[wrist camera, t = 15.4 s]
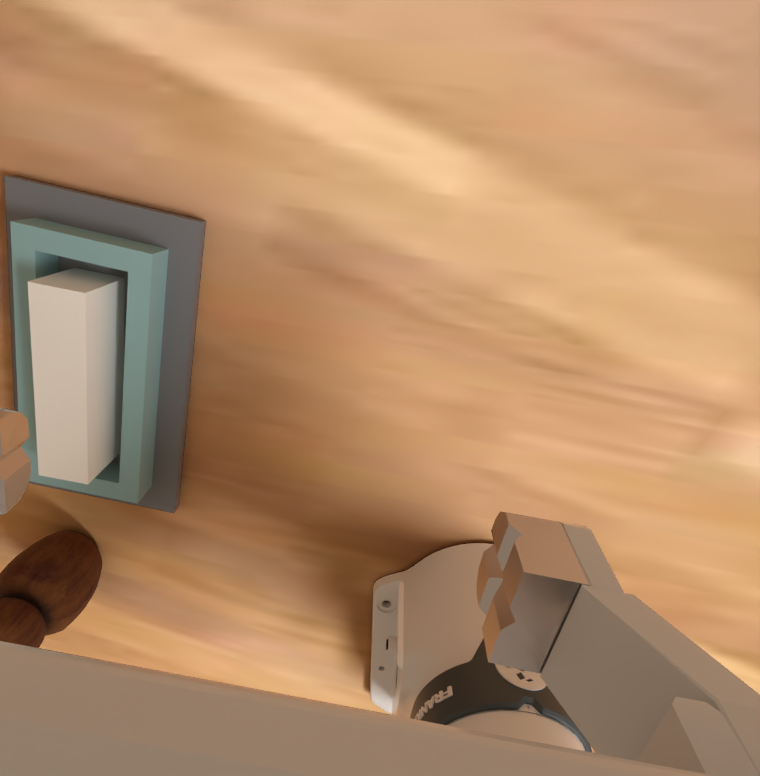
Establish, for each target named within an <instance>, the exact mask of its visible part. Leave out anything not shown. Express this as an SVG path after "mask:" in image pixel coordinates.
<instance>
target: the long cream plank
mask: <svg viewBox="0 0 760 776" xmlns="http://www.w3.org/2000/svg"><path fill="white" fill-rule="evenodd" d="M28 298H29V315H30V333H31V350H32V367H33V385H34V402H35V420H36V437H37V454H38V472H39V475H40V476H46V477H51V478H56V479H61V480H67V481H72V482H77V483H83V484H89V483H90V482H91V481H92V480H93V479H94V478H95V477H96V476H97V475H98V474H99V473H100V472H101V471H102V470H103V469H104V468H105V467H106V466H107V465H108V464H109V463H110V462H111V461H112V460H113V459H114V458H115V457H116V456H117V455H118V454H119V453H120V452H121V429H122V405H123V375H124V301H125V278H123V277H118V276H113V275H108V274H103V273H98V272H93V271H88V270H84V269H79V268H72V269H68V270H65V271H62V272H58V273H55V274H51V275H48V276H45V277H41V278H38V279H34V280H31V281H28Z"/></svg>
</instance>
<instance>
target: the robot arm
mask: <svg viewBox="0 0 760 776" xmlns="http://www.w3.org/2000/svg"><path fill="white" fill-rule="evenodd" d="M28 438H29V428H28V419H27V418H26V417H25V416H24V415H23V414H22V413H21V412H17V411H13V410H8V409H4V408H0V515H3V514H6V513H7V512H8V511H9V510H11V509H12V508H13V507H14V506H15V505H16V504H17V503H18V502H19V501H20V499H21V497H22V496H23V494H24V492H25V491H26V489H27V487H28V484H29V479H30V475H31V460H30V459H29V457H28V456H27V455H26V453H25V452H24V450H23V449H22V448H21V446H22V445H23V443H24V442H25V441H26V440H27V439H28ZM491 532H492V537H493V541H494V544H487V543H469V544H461V545H456V546H452V547H448V548H445V549H442V550H440V551H437V552H435V553H433V554H431V555H429V556H427V557H426V558H424V559H423V560H421V561H420V562H418V563H417V564H415V565H414V566H413V567H411V568H409V569H408V570H406V571H403V572H399V573H395V574H391V575H388V576H385V577H382V578H380V579H378V580H377V581H376V582H375V584H374V586H373V609H372V640H371V671H370V696H371V700H372V702H373V703H375V704H376V705H377V706H379V707H380V708H381V709H383V710H385V711H387V712H388V713H390V714H392V715H390V714H385V713H379V712H374V711H369V710H364V709H358V708H353V707H348V706H343V705H337V704H332V703H327V702H322V701H316V700H311V699H306V698H301V697H295V696H290V695H285V694H280V693H274V692H269V691H264V690H259V689H253V688H248V687H243V686H238V685H233V684H227V683H222V682H217V681H211V680H206V679H201V678H195V677H190V676H185V675H179V674H174V673H169V672H163V671H158V670H153V669H147V668H142V667H137V666H131V665H126V664H121V663H115V662H110V661H105V660H99V659H94V658H89V657H83V656H78V655H73V654H67V653H62V652H57V651H51V650H46V649H41V648H35V647H30V646H25V645H19V644H14V643H9V642H3V641H0V776H760V695H759V694H758V693H757V692H756V691H754V690H753V689H752V688H751V687H749V686H748V685H747V684H745V683H744V682H743V681H742V680H740V679H739V678H738V677H737V676H735V675H734V674H733V673H732V672H730V671H729V670H728V669H727V668H725V667H724V666H723V665H721V664H720V663H719V662H718V661H716V660H715V659H714V658H713V657H711V656H710V655H709V654H708V653H706V652H705V651H704V650H703V649H701V648H700V647H699V646H698V645H696V644H695V643H694V642H692V641H691V640H690V639H689V638H687V637H686V636H685V635H684V634H682V633H681V632H680V631H679V630H677V629H676V628H675V627H674V626H672V625H671V624H670V623H668V622H667V621H666V620H665V619H663V618H662V617H661V616H660V615H658V614H657V613H656V612H655V611H653V610H652V609H651V608H650V607H648V606H647V605H646V604H644V603H643V602H642V601H641V600H639V599H638V598H637V597H636V596H634V595H632V594H627V593H624V591H623V590H622V588H621V586H620V584H619V582H618V580H617V578H616V576H615V574H614V573H613V571H612V569H611V567H610V565H609V563H608V561H607V559H606V558H605V556H604V554H603V552H602V550H601V548H600V546H599V544H598V542H597V541H596V539H595V537H594V535H593V533H592V531H591V530H590V529H589V528H587V527H586V526H582V525H576V524H570V523H564V522H558V521H551V520H546V519H540V518H534V517H529V516H523V515H518V514H512V513H506V512H500V513H499V514H498V516H497V517H496V519H495V522H494V524H493V527H492V530H491ZM386 600H387V601H389V602H385V601H386ZM590 745H591V746H592V748H593V749H594V751H595V752H596V753H592V750H591V746H590Z"/></svg>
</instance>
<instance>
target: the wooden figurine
mask: <svg viewBox="0 0 760 776" xmlns="http://www.w3.org/2000/svg"><path fill="white" fill-rule="evenodd" d="M101 569H102V559H101V555H100V553H99V551H98V549H97V547H96V545H95V544H94V543H93V542H92V541H91V540H90V539H88V538H87V537H85V536H83V535H82V534H79V533H76V532H73V531H60V532H58V533H55V534H52V535H50V536H47V537H45V538H43V539H41V540H40V541H38V542H36V543H34V544H33V545H32V546H30V547H29V548H27V549H26V550H24V551H23V552H22V553H20V554H19V555H18V556H17V557H15V558H14V559H13V560H12V561H11V562H10V563H9V564H8V565H7V566H6V567H5V569H4V570H3V571H2V572H1V573H0V641H3V642H9V643H14V644H19V645H25V646H30V647H35V648H39V647H40V645H41V643H42V642H43V640H44V636H46V635H50V634H54V633H56V632H59V631H62V630H64V629H65V628H66V627H67V626H68V625H69V624H70V623H72V622H73V620H74V619H75V618H76V617H77V616H78V615H79V614H80V613H81V612H82V610H83V609H84V608H85V607H86V605H87V604H88V602H89V601H90V599H91V598H92V596H93V594H94V592H95V590H96V587H97V585H98V582H99V578H100V574H101Z"/></svg>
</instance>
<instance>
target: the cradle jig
mask: <svg viewBox="0 0 760 776" xmlns="http://www.w3.org/2000/svg"><path fill="white" fill-rule="evenodd" d="M4 182H5V204H6V227H7V249H8V272H9V295H10V317H11V340H12V362H13V385H14V407H15V411H17V412H21V413H22V414H23V415H24V416H25V417H26V418H27V419H28V428H29V438H28V439H27V440H26V441H25V442H24V443H23V445H22V446H21V448H22V449H23V450H24V452H25V453H26V455H27V456H28V457H29V459H30V460H31V475H30V479H29V483H32V484H37V485H41V486H46V487H51V488H56V489H61V490H65V491H70V492H75V493H80V494H84V495H89V496H94V497H99V498H104V499H108V500H113V501H118V502H123V503H128V504H132V505H137V506H142V507H147V508H152V509H156V510H161V511H166V512H171V513H174V512H175V511H176V509H177V508H178V506H179V497H180V486H181V476H182V466H183V455H184V445H185V434H186V424H187V413H188V403H189V392H190V382H191V371H192V361H193V351H194V340H195V330H196V319H197V309H198V298H199V288H200V277H201V267H202V256H203V246H204V236H205V225H206V221H204V220H200V219H196V218H191V217H187V216H183V215H179V214H174V213H170V212H166V211H162V210H158V209H153V208H149V207H145V206H141V205H137V204H132V203H128V202H124V201H120V200H115V199H111V198H107V197H103V196H99V195H94V194H90V193H86V192H82V191H78V190H73V189H69V188H65V187H61V186H56V185H52V184H48V183H44V182H40V181H35V180H31V179H27V178H23V177H19V176H4ZM72 268H79V269H84V270H88V271H93V272H98V273H103V274H108V275H113V276H118V277H123V278H125V301H124V375H123V405H122V429H121V452H120V453H119V454H118V455H117V456H116V457H115V458H114V459H113V460H112V461H111V462H110V463H109V464H108V465H107V466H106V467H105V468H104V469H103V470H102V471H101V472H100V473H99V474H98V475H97V476H96V477H95V478H94V479H93V480H92V481H91V482H90V483H89V484H83V483H77V482H72V481H67V480H61V479H56V478H51V477H46V476H40V475H39V472H38V454H37V437H36V420H35V402H34V385H33V367H32V350H31V333H30V315H29V298H28V281H31V280H34V279H38V278H41V277H45V276H48V275H51V274H55V273H58V272H62V271H65V270H68V269H72Z"/></svg>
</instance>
